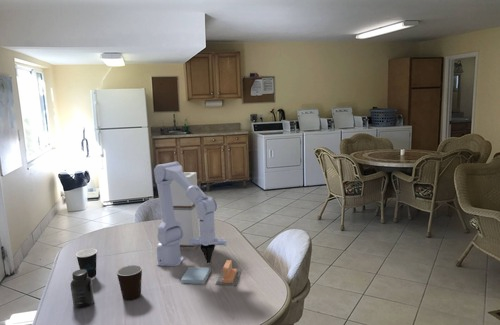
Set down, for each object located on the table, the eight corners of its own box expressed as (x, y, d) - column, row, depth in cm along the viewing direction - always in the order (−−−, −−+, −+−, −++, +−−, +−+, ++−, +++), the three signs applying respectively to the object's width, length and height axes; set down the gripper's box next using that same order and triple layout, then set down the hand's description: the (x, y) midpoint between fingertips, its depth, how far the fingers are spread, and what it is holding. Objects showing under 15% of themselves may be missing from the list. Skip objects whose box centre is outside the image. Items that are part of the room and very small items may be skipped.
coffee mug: (137, 303, 134) (134, 276, 132) (114, 301, 136) (112, 274, 134) (151, 287, 145) (149, 262, 143) (131, 285, 147) (128, 261, 145)
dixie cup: (87, 284, 149) (84, 257, 147) (74, 280, 153) (71, 254, 151) (104, 276, 156) (101, 250, 154) (91, 272, 160) (88, 247, 158)
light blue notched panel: (181, 282, 148) (181, 279, 147) (189, 270, 158) (189, 266, 158) (204, 283, 146) (203, 280, 146) (210, 270, 157) (210, 267, 157)
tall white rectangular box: (200, 241, 191) (196, 172, 185) (193, 249, 180) (189, 176, 175) (178, 240, 193) (174, 172, 187) (170, 248, 182) (165, 176, 177)
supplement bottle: (77, 299, 138) (73, 268, 136) (96, 298, 138) (93, 267, 136) (70, 310, 131) (66, 277, 129) (90, 308, 132) (86, 275, 130)
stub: (222, 282, 146) (221, 270, 145) (227, 271, 155) (226, 259, 155) (232, 283, 145) (232, 270, 144) (237, 271, 155) (236, 259, 154)
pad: (215, 284, 145) (215, 284, 145) (221, 270, 157) (221, 270, 157) (236, 285, 144) (236, 284, 144) (241, 271, 156) (241, 270, 156)
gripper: (186, 232, 145) (188, 266, 148) (223, 233, 143) (225, 267, 146) (191, 226, 152) (193, 258, 155) (227, 226, 150) (228, 259, 153)
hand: (208, 262), depth 151 cm, fingers closed
